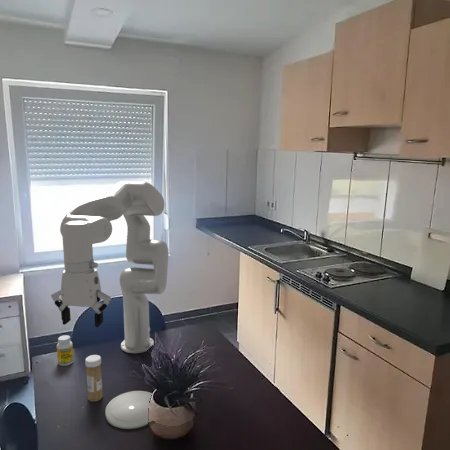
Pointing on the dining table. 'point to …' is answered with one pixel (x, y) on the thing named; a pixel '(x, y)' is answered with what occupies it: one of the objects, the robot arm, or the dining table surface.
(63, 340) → the supplement bottle
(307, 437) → the dining table surface
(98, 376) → the sprinkles bottle
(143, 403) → the dish
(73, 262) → the robot arm
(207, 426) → the dining table surface
